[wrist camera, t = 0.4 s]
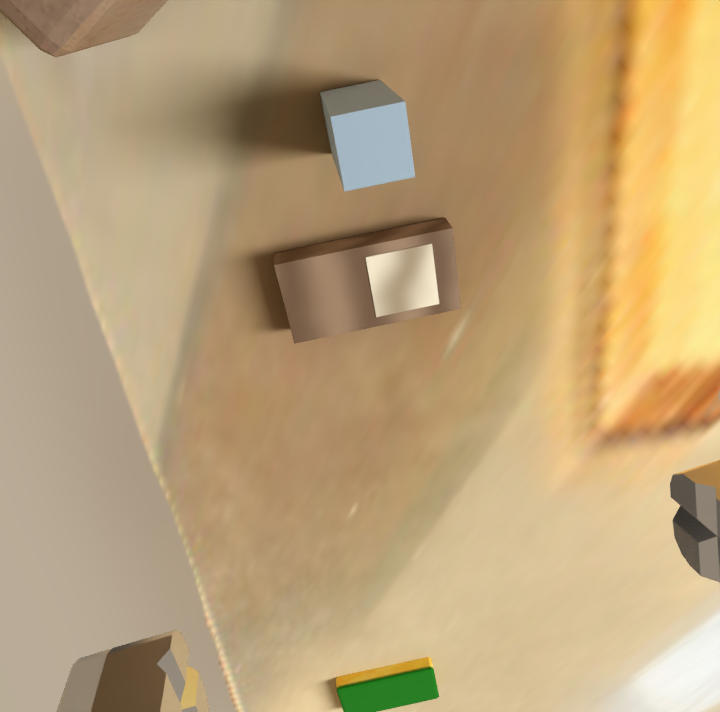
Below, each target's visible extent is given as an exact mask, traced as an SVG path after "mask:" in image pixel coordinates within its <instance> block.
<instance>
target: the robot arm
mask: <svg viewBox="0 0 720 712" xmlns="http://www.w3.org/2000/svg"><path fill="white" fill-rule="evenodd" d="M670 491H671V498H672V499H674V500H675V501H676V502H677V503H678V504H679V505H680V507H679V509H678V511H677V513H676V515H675V517H674V518H673V528H674V536H675V539H676V542H677V544H678V546H679V549H680V551H681V553H682V555H683V556H684V558H685V559H686V561H687V562H688V563H689V565H690V566H691V567H692V568H693V569H694V570H695V571H696V572H697V573H698V574H699V575H700V576H703V577H706V578H709V579H712V580H715V581H718V582H720V460H718V461H715V462H711V463H708V464H705V465H702V466H699V467H696V468H693V469H689V470H686V471H683V472H680V473H677V474H674V475H673V476H672V479H671V482H670ZM188 654H189V648H188V646H187V644H186V642H185V639H184V637H183V635H182V633H181V632H179V631H177V630H174V631H170V632H167V633H163V634H159V635H156V636H152V637H149V638H146V639H142V640H139V641H135V642H132V643H128V644H125V645H121V646H118V647H114V648H112V649H110V650H105V651H102V652H98V653H95V654H92V655H89V656H85V657H82V658H79V659H78V660H77V661H76V662H75V663H74V664H73V666H72V668H71V671H70V674H69V677H68V680H67V683H66V686H65V688H64V691H63V694H62V697H61V700H60V703H59V706H58V709H57V712H209V708H208V699H207V695H206V692H205V689H204V684H203V682H202V679H201V677H200V674H199V672H198V671H196V670H195V669H193V668H191V667H189V666H187V664H188Z"/></svg>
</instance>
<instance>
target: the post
mask: <svg viewBox="0 0 720 712" xmlns="http://www.w3.org/2000/svg"><path fill="white" fill-rule="evenodd" d="M320 96H321V101H322V106H323V111H324V116H325V121H326V127H327V132H328V137H329V142H330V147H331V152H332V156H333V159H334V162H335V165H336V168H337V171H338V174H339V177H340V180H341V182H342V185H343V188H344V191H349V190H354V189H359V188H364V187H368V186H373V185H378V184H383V183H388V182H393V181H397V180H402V179H407V178H412V177H415V173H414V165H413V157H412V150H411V142H410V134H409V127H408V119H407V111H406V104H405V101H404V100H403V99H402V98H401V97H399V96H398V95H397V94H396V93H395V92H394V91H392V90H391V89H390V88H389V87H388V86H386V85H385V84H384V83H383V82H382V81H381V80H377V81H372V82H367V83H362V84H357V85H352V86H347V87H342V88H338V89H333V90H328V91H323V92H320Z"/></svg>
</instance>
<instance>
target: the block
mask: <svg viewBox="0 0 720 712" xmlns="http://www.w3.org/2000/svg"><path fill="white" fill-rule="evenodd" d="M167 1H168V0H0V11H1V12H2V13H3V14H4V15H5V16H6V17H7V18H8V19H9V20H10V21H11V22H12V23H13V24H14V25H15V26H16V27H17V28H18V29H19V30H20V31H21V32H22V33H23V34H24V35H25V36H27V37H28V38H29V39H30V40H31V41H32V42H33V43H34V44H35V45H36V46H37V47H38V48H39V49H40V50H42V51H44V52H46V53H48V54H50V55H52V56H54V57H59V56H63V55H66V54H69V53H73V52H76V51H80V50H83V49H87V48H90V47H94V46H97V45H101V44H104V43H108V42H111V41H114V40H118V39H121V38H125V37H128V36H131V35H134V34H136V33H138V32H139V31H140V30H141V29H142V28H143V27H144V26H145V24H146V23H147V22H148V21H149V20H150V19H151V18H152V17H153V16H154V15H155V14H156V12H157V11H158V10H159V9H160V8H161V7H162V6H163V5H164V4H165V3H166V2H167Z"/></svg>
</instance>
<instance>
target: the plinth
mask: <svg viewBox="0 0 720 712" xmlns="http://www.w3.org/2000/svg"><path fill="white" fill-rule="evenodd" d="M274 267H275V271H276V275H277V279H278V282H279V286H280V290H281V294H282V298H283V302H284V305H285V309H286V313H287V317H288V321H289V324H290V328H291V332H292V336H293V340H294V344H295V343H299V342H304V341H309V340H314V339H318V338H323V337H328V336H333V335H338V334H342V333H347V332H352V331H357V330H361V329H366V328H371V327H376V326H380V325H385V324H390V323H395V322H400V321H404V320H409V319H414V318H419V317H423V316H428V315H433V314H438V313H442V312H447V311H452V310H457V309H461V303H460V293H459V283H458V274H457V264H456V255H455V245H454V236H453V228H452V226H451V225H450V224H449V222H448V221H447V220H446V218H441V219H436V220H431V221H426V222H421V223H417V224H412V225H407V226H402V227H397V228H393V229H388V230H383V231H378V232H373V233H369V234H364V235H359V236H354V237H349V238H345V239H340V240H335V241H330V242H325V243H321V244H316V245H311V246H306V247H301V248H297V249H292V250H287V251H282V252H277V253H274Z"/></svg>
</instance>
